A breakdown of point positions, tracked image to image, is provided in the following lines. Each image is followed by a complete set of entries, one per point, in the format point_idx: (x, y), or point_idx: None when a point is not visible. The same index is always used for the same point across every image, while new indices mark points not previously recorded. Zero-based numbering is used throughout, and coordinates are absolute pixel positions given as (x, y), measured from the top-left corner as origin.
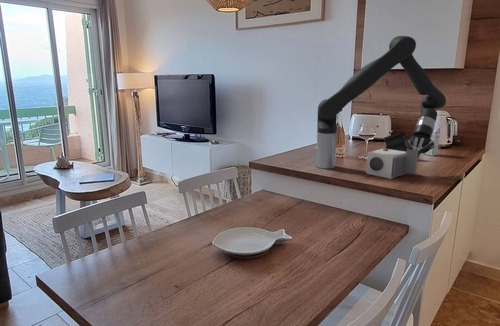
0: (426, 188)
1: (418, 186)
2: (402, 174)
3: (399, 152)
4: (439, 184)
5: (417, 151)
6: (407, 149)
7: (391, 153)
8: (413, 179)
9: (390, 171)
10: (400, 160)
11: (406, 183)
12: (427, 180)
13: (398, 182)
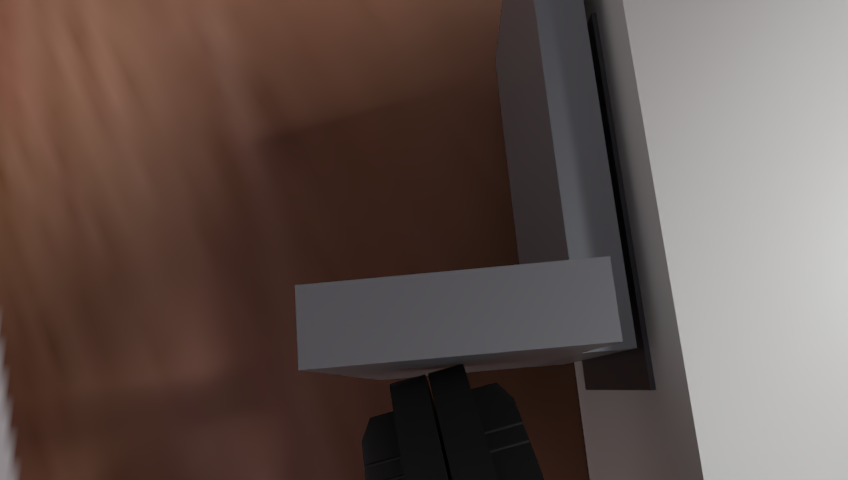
0: (72, 39)
1: (163, 39)
2: (575, 366)
3: (815, 326)
4: (32, 303)
5: (299, 325)
6: (606, 291)
7: (830, 59)
8: (347, 263)
9: None
10: (532, 78)
11: (307, 40)
12: (208, 363)
13: (387, 6)
